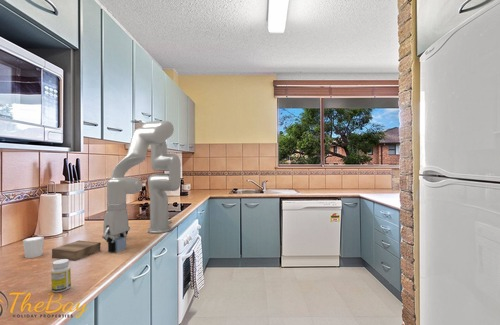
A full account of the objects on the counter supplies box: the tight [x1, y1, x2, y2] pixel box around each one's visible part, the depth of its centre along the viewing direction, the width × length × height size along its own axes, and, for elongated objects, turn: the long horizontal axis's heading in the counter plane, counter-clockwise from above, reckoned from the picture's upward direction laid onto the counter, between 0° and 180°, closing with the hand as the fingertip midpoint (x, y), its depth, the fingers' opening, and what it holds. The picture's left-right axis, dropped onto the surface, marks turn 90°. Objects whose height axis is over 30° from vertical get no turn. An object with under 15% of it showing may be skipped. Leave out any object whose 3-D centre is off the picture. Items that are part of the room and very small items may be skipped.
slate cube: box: [114, 237, 127, 253], centre depth 117 cm, size 5×5×5 cm
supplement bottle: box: [50, 259, 72, 293], centre depth 81 cm, size 5×5×8 cm
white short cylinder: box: [22, 236, 45, 259], centre depth 111 cm, size 7×7×7 cm
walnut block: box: [51, 240, 102, 262], centre depth 112 cm, size 12×12×4 cm
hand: (117, 248), depth 117 cm, fingers open, 5 cm apart
